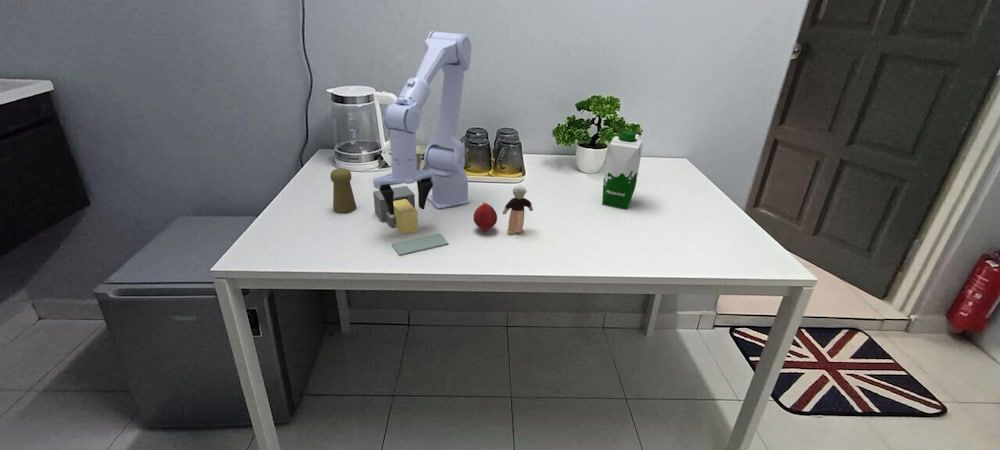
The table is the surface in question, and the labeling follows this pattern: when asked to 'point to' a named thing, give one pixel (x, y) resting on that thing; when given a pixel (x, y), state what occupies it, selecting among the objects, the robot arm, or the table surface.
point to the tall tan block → (405, 216)
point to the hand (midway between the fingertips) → (406, 210)
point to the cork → (342, 191)
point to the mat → (419, 244)
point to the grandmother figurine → (517, 210)
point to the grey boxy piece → (399, 194)
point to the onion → (485, 216)
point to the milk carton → (621, 170)
